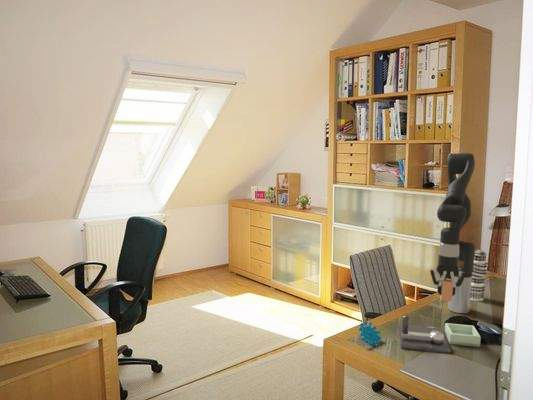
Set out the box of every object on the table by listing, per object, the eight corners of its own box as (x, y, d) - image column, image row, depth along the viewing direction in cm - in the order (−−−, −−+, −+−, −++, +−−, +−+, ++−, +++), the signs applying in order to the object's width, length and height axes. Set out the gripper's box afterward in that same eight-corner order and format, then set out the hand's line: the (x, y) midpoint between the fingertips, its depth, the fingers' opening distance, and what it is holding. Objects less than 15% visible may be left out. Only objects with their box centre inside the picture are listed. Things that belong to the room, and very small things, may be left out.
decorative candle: (481, 302, 220) (485, 253, 217) (462, 298, 226) (466, 250, 223) (486, 298, 227) (490, 250, 224) (468, 293, 233) (471, 247, 230)
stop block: (439, 296, 182) (441, 278, 180) (450, 297, 181) (451, 278, 179) (441, 300, 178) (442, 281, 176) (451, 301, 177) (453, 282, 175)
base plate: (396, 327, 188) (396, 323, 188) (440, 331, 185) (440, 327, 184) (400, 348, 169) (400, 344, 169) (450, 353, 165) (450, 349, 165)
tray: (444, 332, 184) (445, 323, 183) (472, 334, 182) (473, 325, 181) (449, 343, 173) (450, 334, 173) (479, 346, 171) (480, 336, 170)
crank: (442, 338, 174) (443, 317, 172) (444, 344, 169) (446, 322, 168) (401, 334, 177) (402, 313, 175) (402, 340, 172) (403, 318, 171)
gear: (366, 345, 166) (356, 321, 172) (357, 352, 170) (348, 327, 176) (387, 343, 172) (377, 319, 178) (378, 349, 176) (368, 326, 182)
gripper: (465, 252, 179) (462, 293, 181) (428, 250, 182) (426, 290, 184) (469, 257, 172) (466, 299, 174) (431, 254, 175) (428, 296, 177)
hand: (445, 294), depth 179 cm, fingers closed on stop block, 4 cm apart
